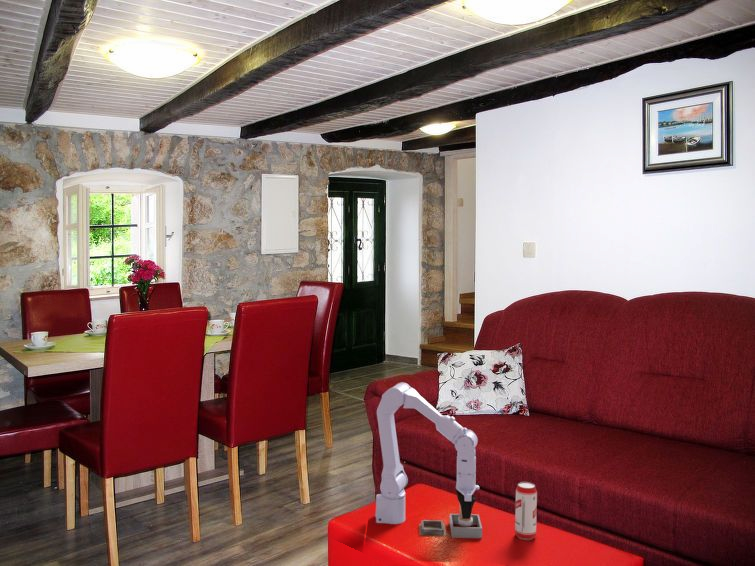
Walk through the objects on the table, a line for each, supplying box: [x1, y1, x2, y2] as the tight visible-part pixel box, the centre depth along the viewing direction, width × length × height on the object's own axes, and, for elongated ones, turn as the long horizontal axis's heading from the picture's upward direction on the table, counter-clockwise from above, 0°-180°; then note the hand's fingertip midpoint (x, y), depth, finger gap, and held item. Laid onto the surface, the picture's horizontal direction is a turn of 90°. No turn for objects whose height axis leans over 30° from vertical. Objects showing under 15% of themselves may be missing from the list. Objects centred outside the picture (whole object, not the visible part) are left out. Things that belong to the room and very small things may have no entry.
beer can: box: [514, 481, 538, 541], centre depth 202 cm, size 6×6×16 cm
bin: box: [449, 513, 483, 539], centre depth 204 cm, size 9×10×4 cm
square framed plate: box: [418, 519, 447, 537], centre depth 204 cm, size 8×8×2 cm
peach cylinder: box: [457, 502, 473, 527], centre depth 203 cm, size 4×4×8 cm
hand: (465, 515), depth 204 cm, fingers closed on peach cylinder, 4 cm apart
